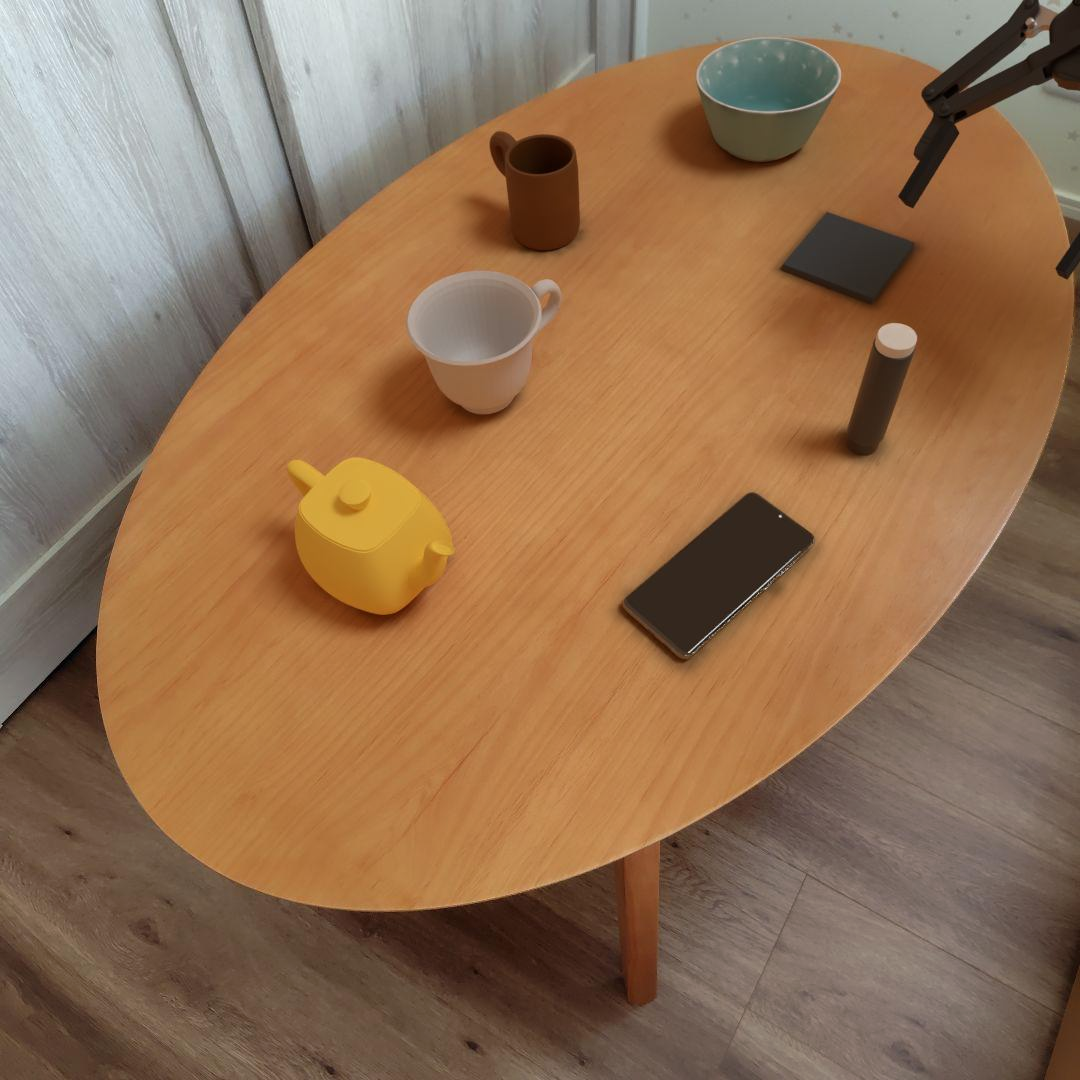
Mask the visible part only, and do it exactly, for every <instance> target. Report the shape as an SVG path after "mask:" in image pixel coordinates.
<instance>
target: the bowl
mask: <svg viewBox="0 0 1080 1080" xmlns="http://www.w3.org/2000/svg"><path fill="white" fill-rule="evenodd" d="M695 82H696V87H697V90H698V94H699V96H700V100H701V104H702V107H703V110H704V113H705V116H706V119H707V122H708V125H709V129H710V132H711V134H712V137H713V140H714V141H715V142H716V144H718V146H719V147H721V148H722V149H723V150H725V151H726V152H728V153H729V154H730V155H732V156H733V157H736V158H737V159H741V160H744V161H747V162H753V163H755V162H756V163H760V162H761V163H763V162H766V163H767V162H772V161H777V160H780V159H782V158H783V159H784V158H785V157H787V156H789V155H791V154H793V153H795V152H798V151H799V150H800V149H801V148H803V147H804V146H805V145H806V143H807V142H808V140H810V138H811V136H812V135H813V134H814V131H815V129H816V128H817V127H818V125H819V123H820V121H821V120H822V118H823V116H824V114H825V113H826V112H827V109H828V108H829V106H830V104H831V101H833V99H834V97H835V95H836V93H837V92H838V89H839V87H840V84H841V82H842V70H841V67H840V65H839V63H838V62H837V60H836V59H835V58H833V56H832V55H830V54H829V53H828V52H827V51H825V50H823V49H822V48H821V47H818V46H816V45H814V44H811V43H809V42H805V41H802V40H798V39H795V38H794V39H793V38H788V37H778V36H777V37H776V36H764V37H763V36H761V37H752V38H751V37H750V38H746V39H741V40H736V41H733V42H730V43H727V44H725V45H723V46H719V47H718V48H716V49H714V50H713V51H711V52H710V53H709V54H707V55H706V56H705V57H704V58H703V59H702V60H701V61H700V63H699V64H698V67H697V69H696V73H695Z"/></svg>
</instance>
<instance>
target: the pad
mask: <svg viewBox="0 0 1080 1080" xmlns="http://www.w3.org/2000/svg"><path fill="white" fill-rule="evenodd" d="M915 245H916V242H915V241H912V240H909V239H906V238H903V237H900V236H897V235H894V234H892V233H889V232H886V231H883V230H880V229H878V228H875V227H872V226H869V225H866V224H863V223H860V222H858V221H855V220H851V219H849V218H846V217H843V216H840V215H838V214H834V213H832V212H829V211H826V212H825V214H823V216H822V217H821V218H820V219H819V220H818V221H817V223H816V224H815V225H814V226H813V228H811V230H810V231H809V232H808V233H807V234H806V236H805V237H804V238H803V240H802V241H801V242H800V243H799V244H798V245H797V246H796V248H795V249H794V250H793V251H792V252H791V254H790V255H789V256H788V257H787V258H786V259H785V261H784V262H783V263H782V266H781V271H784V272H786V273H789V274H791V275H794V276H797V277H799V278H802V279H804V280H806V281H810V282H812V283H815V284H818V285H820V286H823V287H826V288H828V289H830V290H833V291H836V292H838V293H841V294H844V295H847V296H849V297H852V298H854V299H856V300H859V301H862V302H864V303H867V304H869V305H873V303H874V302H875V301H876V300H877V298H878V297H879V295H880V294H881V293H882V291H883V290H884V289H885V287H886V286H887V285H888V284H889V282H890V281H891V280H892V278H894V275H895V274H896V273H897V271H898V270H899V269H900V267H901V266H902V265H903V263H904V262H905V261H906V259H907V258H908V257H909V256H910V254H911V253H912V251H913V250H914V248H915Z"/></svg>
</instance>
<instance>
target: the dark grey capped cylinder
mask: <svg viewBox="0 0 1080 1080" xmlns="http://www.w3.org/2000/svg"><path fill="white" fill-rule="evenodd" d="M876 333H877V334H876V337H875V338H874V340H873V343H872V346H871V348H870V351H869V354H868V355H869V356H868V358H867V362H866V366H865V369H864V372H863V376H862V378H861V381H860V385H859V389H858V392H857V395H856V398H855V402H854V405H853V407H852V412H851V415H850V417H849V422H848V425H847V429H846V431H847V436H846V440H845V444H846V446H847V448H848V450H849V451H851V452H852V453H854V454H856V455H859V456H870V455H872V454H874V453H875V452H877V450H878V448H879V446H880V443H881V442H882V441H884V439H885V437H886V433H887V430H888V427H889V424H890V423H891V420H892V416H893V414H894V411H895V409H896V405H897V402H898V400H899V397H900V394H901V391H902V388H903V386H904V383H905V380H906V377H907V374H908V371H909V368H910V366H911V363H912V360H913V357H914V355H915V351H916V345H917V342H918V334H917V333H916V331H915V330H914V329H913V328H912V327H910V326H908V325H906V324H904V323H900V322H898V323H897V322H890V323H887V324H884V325H883V326H881V327H879V329H878V330H877V332H876Z"/></svg>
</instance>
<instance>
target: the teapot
mask: <svg viewBox="0 0 1080 1080" xmlns="http://www.w3.org/2000/svg"><path fill="white" fill-rule="evenodd" d="M286 472H287V476H288V477H289V479H290V480H291V482H292V483H293V485H294V486H295V488H296V489H297V491H299V493H300V494H301V495H302V497H303V498H302V499H301V500H300V503H299V504H298V507H297V512H296V516H295V517H296V518H295V522H294V523H295V524H294V540H295V546H296V551H297V553H298V557H299V560H300V562H301V564H302V565H303V568H304V569H305V570H306V572H307V574H309V576H310V577H311V579H313V581H314V582H315V583H316V584H317V585H318V586H319V587H320V588H321V589H323V591H325V592H326V593H328V594H329V595H330V596H331V597H332V598H335V599H336V600H338V601H339V602H342V603H343V604H346V605H347V606H350V607H352V608H355V609H358V610H361V611H363V612H367V613H370V614H374V615H382V616H384V615H393V614H395V613H397V612H400V610H401V611H402V609H403V608H405V607H406V606H407V605H409V604H410V603H411V602H412V601H413V600H414V599H415V598H416V597H418V595H419V594H420V593H421V592H422V591H424V589H425V588H427V587H430V586H432V585H433V584H435V583H436V582H437V581H438V580H439V579H440V578H441V577H442V576H443V574H444V573H445V571H446V569H447V565H448V559H449V558H450V556H451V555H453V554H454V553H455V552H456V548H455V546H454V545H453V536H452V532H451V530H450V528H449V525H448V524H447V522H446V520H445V518H444V516H443V515H442V513H441V512H440V511H439V509H438V508H437V506H436V505H435V504H434V503H433V502H432V501H431V500H430V499H429V498H428V497H427V496H426V495H425V494H424V493H423V492H422V491H421V490H420V489H419V488H418V487H416V486H415V485H414V484H413V483H412V482H411V481H409V480H408V479H407V478H405V477H404V476H403V475H401V474H400V473H399V472H397V471H395V470H394V469H391V468H390V467H387V466H386V465H384V464H381V463H379V462H377V461H374V460H370V459H368V458H364V457H359V456H357V457H356V456H355V457H349V458H346V459H345V460H343V461H341V462H340V463H338V464H337V465H335V467H333V468H332V469H331V470H330V471H328V473H327V474H326V475H324V474H323V473H322V472H320V471H319V470H318V469H316V468H315V467H313V466H312V465H311V464H309V463H307V462H306V461H304V460H301V459H293V460H290V461H289V462H288V464H287V465H286Z"/></svg>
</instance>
